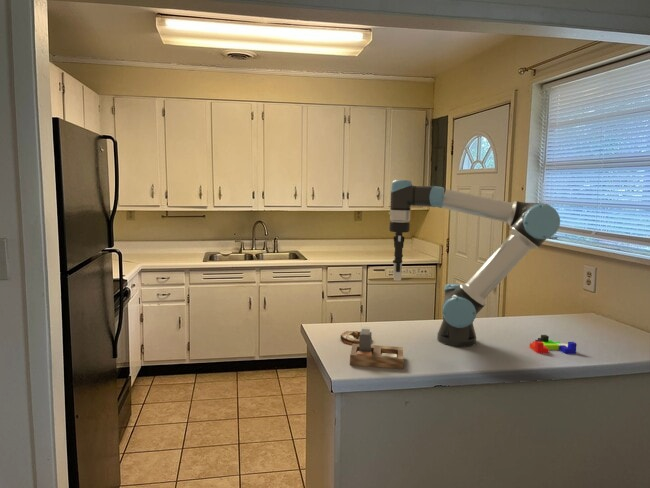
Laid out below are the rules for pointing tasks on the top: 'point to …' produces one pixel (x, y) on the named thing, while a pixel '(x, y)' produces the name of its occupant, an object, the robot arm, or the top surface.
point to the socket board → (378, 356)
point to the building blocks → (552, 346)
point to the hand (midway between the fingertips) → (397, 276)
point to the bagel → (351, 337)
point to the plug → (365, 340)
